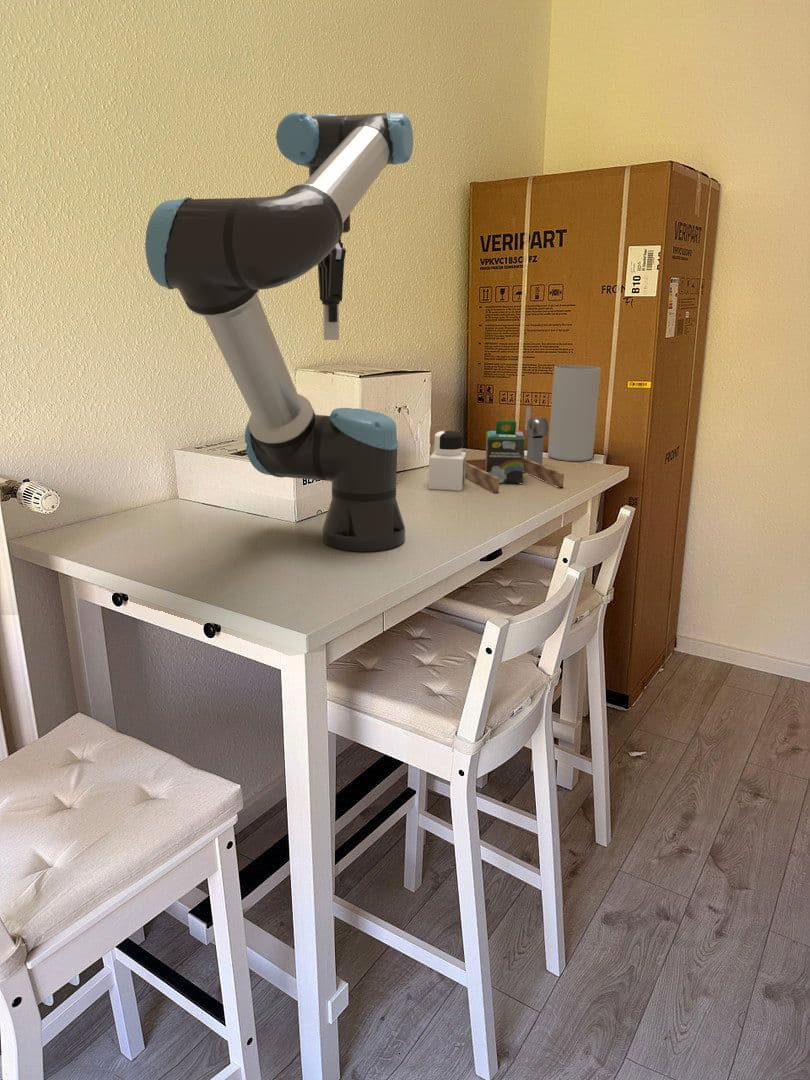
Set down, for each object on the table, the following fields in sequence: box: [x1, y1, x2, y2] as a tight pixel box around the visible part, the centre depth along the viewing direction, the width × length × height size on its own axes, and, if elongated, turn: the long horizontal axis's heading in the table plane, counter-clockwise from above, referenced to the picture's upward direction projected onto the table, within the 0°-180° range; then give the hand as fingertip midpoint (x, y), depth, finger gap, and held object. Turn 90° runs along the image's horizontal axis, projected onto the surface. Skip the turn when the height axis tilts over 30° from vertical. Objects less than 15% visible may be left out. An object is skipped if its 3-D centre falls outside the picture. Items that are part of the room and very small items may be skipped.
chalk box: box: [485, 420, 526, 484], centre depth 189 cm, size 9×9×15 cm
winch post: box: [524, 406, 549, 465], centre depth 204 cm, size 5×5×16 cm
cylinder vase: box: [547, 364, 602, 462], centre depth 216 cm, size 12×12×25 cm
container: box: [428, 430, 467, 492], centre depth 182 cm, size 8×8×13 cm
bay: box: [465, 457, 565, 493], centre depth 190 cm, size 21×18×4 cm
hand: (331, 339), depth 152 cm, fingers closed
